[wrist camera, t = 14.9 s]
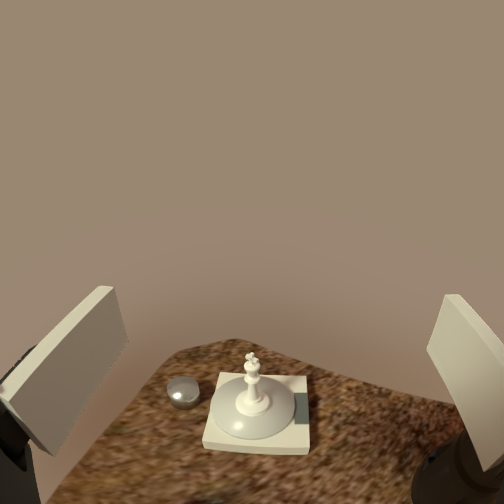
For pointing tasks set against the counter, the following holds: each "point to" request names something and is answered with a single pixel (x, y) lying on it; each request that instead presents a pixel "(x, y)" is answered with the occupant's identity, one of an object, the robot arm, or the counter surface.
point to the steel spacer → (184, 393)
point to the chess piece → (252, 391)
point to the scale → (260, 417)
